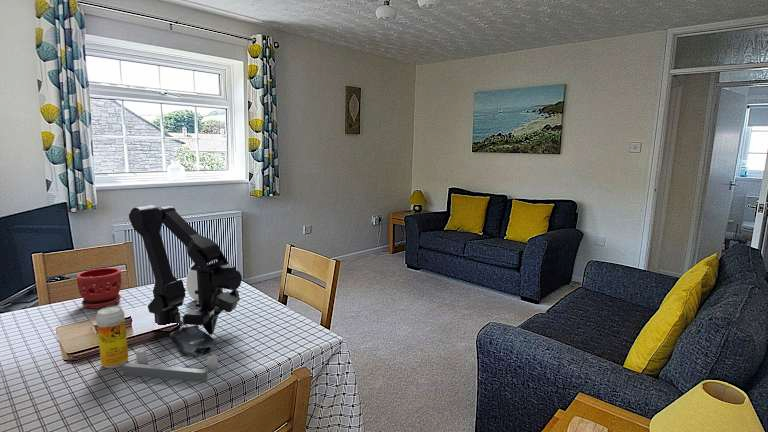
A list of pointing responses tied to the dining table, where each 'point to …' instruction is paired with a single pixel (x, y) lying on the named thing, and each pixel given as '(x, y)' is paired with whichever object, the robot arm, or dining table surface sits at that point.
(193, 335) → the electronic device
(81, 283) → the plant pot
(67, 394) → the dining table surface
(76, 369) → the dining table surface
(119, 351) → the yellow pill bottle
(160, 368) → the dock
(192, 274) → the sauce bottle
